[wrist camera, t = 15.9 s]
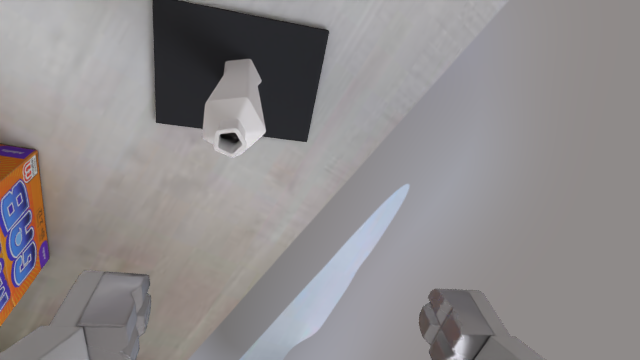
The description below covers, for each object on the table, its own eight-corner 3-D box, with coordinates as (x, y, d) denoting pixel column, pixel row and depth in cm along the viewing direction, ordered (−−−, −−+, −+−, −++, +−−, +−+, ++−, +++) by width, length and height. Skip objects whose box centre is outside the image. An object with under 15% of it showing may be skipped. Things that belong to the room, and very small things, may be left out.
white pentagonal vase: (207, 65, 35) (176, 127, 22) (248, 46, 35) (239, 99, 22) (231, 106, 38) (215, 183, 25) (269, 89, 37) (272, 158, 24)
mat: (328, 30, 35) (329, 31, 35) (306, 140, 41) (306, 142, 41) (153, -5, 32) (152, -4, 31) (157, 120, 38) (156, 122, 37)
